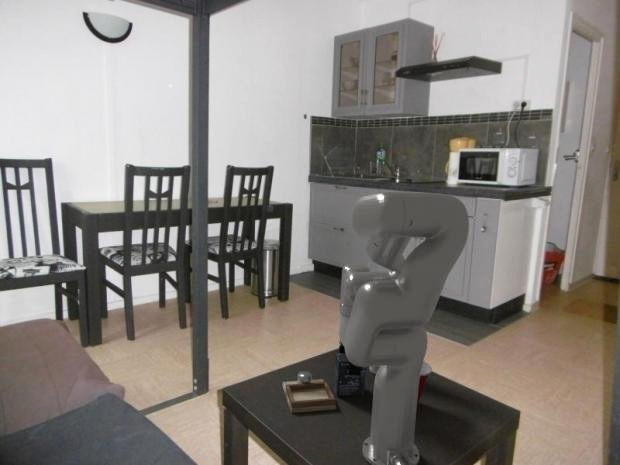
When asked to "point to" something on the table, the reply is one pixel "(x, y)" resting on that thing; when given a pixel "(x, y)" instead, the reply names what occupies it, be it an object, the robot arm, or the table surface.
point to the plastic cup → (423, 378)
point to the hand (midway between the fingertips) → (349, 366)
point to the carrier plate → (308, 394)
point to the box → (347, 378)
